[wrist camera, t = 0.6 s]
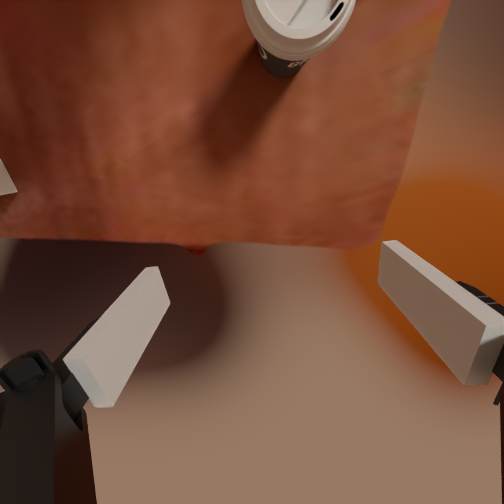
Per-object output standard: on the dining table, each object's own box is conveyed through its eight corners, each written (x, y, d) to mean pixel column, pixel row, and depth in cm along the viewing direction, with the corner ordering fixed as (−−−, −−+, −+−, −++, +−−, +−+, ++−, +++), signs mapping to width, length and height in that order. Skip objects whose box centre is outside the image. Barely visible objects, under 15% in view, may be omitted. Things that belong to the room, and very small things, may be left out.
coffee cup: (267, 104, 33) (273, 77, 20) (234, 27, 30) (214, -69, 16) (331, 65, 31) (386, 5, 18) (304, -22, 28) (346, -180, 14)
